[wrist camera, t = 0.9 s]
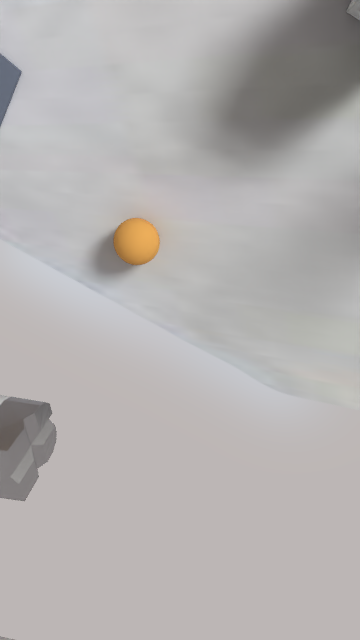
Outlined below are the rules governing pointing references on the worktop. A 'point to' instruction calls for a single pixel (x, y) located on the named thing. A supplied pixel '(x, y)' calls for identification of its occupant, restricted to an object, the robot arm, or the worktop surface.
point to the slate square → (7, 84)
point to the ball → (136, 241)
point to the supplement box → (354, 9)
